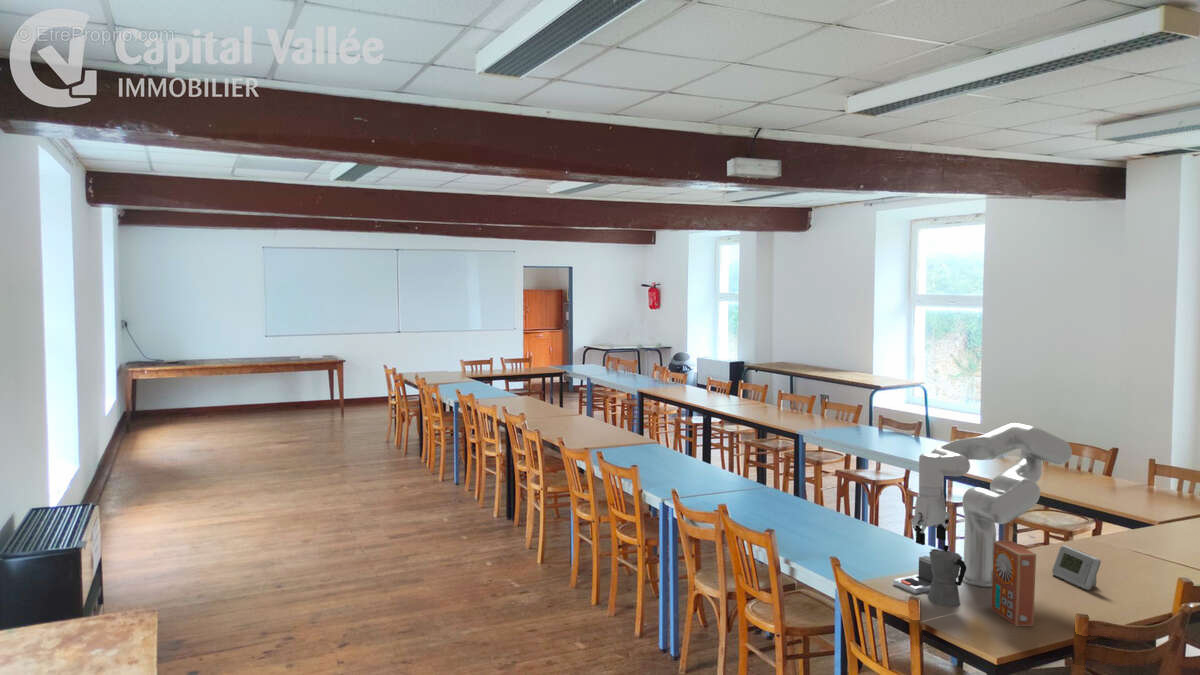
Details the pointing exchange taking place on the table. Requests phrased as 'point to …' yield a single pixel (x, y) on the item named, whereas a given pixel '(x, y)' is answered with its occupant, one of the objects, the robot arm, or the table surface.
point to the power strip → (912, 584)
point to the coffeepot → (946, 576)
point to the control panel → (1013, 583)
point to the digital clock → (1076, 567)
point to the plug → (925, 569)
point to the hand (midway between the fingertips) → (930, 541)
